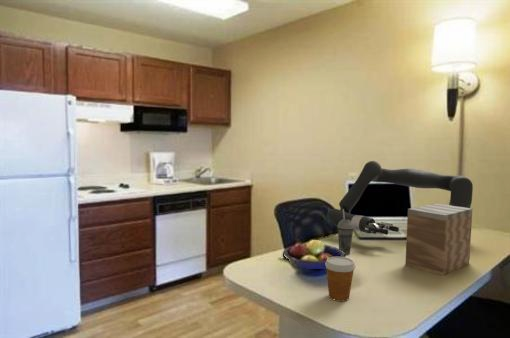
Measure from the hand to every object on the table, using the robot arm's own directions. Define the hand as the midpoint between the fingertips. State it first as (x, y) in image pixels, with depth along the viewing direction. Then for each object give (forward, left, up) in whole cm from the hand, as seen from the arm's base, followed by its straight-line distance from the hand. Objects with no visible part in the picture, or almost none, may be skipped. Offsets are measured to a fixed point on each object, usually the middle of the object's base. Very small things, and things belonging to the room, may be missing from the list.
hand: (393, 230), depth 167 cm
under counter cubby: (0, +20, -10) cm, 23 cm away
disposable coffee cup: (+58, +17, -10) cm, 61 cm away
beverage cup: (+20, -11, -10) cm, 25 cm away
